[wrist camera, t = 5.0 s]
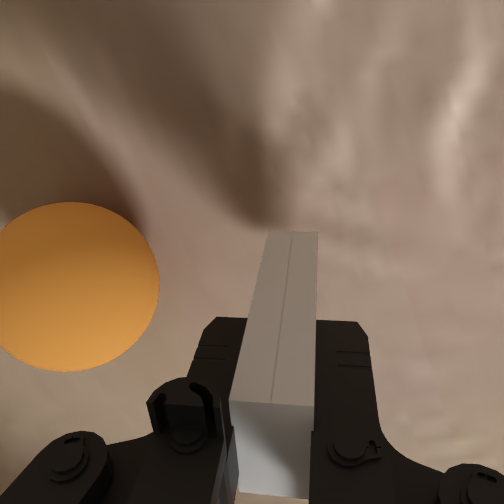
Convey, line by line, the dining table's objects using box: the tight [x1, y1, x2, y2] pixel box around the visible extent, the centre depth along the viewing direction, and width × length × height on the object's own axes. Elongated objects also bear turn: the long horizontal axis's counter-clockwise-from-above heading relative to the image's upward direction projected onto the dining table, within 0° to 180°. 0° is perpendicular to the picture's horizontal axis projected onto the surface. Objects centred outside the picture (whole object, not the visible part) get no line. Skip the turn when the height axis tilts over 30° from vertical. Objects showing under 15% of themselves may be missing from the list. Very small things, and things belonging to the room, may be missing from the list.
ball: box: [0, 202, 159, 372], centre depth 14 cm, size 6×6×6 cm
